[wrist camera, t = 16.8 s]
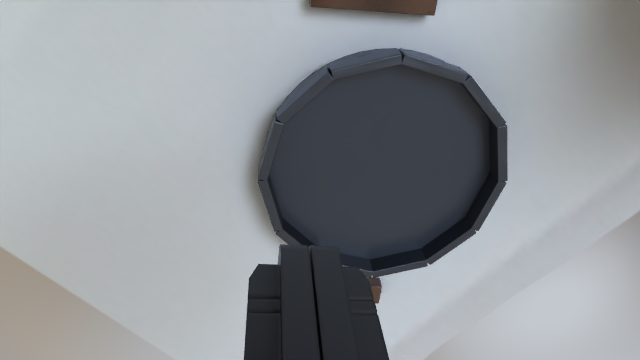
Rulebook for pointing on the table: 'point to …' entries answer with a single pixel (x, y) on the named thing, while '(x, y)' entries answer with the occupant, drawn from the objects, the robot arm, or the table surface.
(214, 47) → the table surface
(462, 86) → the plate
